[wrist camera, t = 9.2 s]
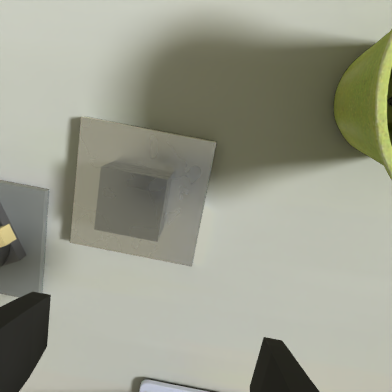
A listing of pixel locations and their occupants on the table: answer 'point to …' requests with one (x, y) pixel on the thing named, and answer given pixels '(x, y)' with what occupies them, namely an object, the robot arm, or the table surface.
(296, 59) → the table surface
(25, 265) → the coaster
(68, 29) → the table surface
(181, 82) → the table surface
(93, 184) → the grey square holder
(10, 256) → the dark grey rounded piece
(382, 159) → the plant pot
